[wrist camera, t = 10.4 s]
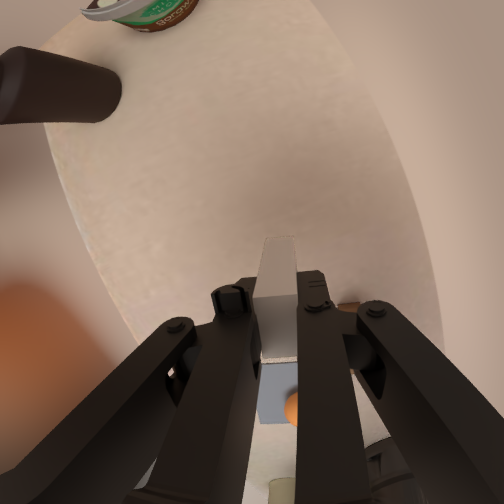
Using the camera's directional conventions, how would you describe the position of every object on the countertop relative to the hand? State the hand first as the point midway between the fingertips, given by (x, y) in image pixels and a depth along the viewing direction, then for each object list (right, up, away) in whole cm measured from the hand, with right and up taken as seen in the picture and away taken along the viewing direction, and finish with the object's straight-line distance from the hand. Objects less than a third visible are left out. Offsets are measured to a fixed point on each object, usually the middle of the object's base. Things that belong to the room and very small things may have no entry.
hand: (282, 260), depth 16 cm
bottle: (-20, +19, +11) cm, 29 cm away
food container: (-10, +27, +6) cm, 30 cm away
